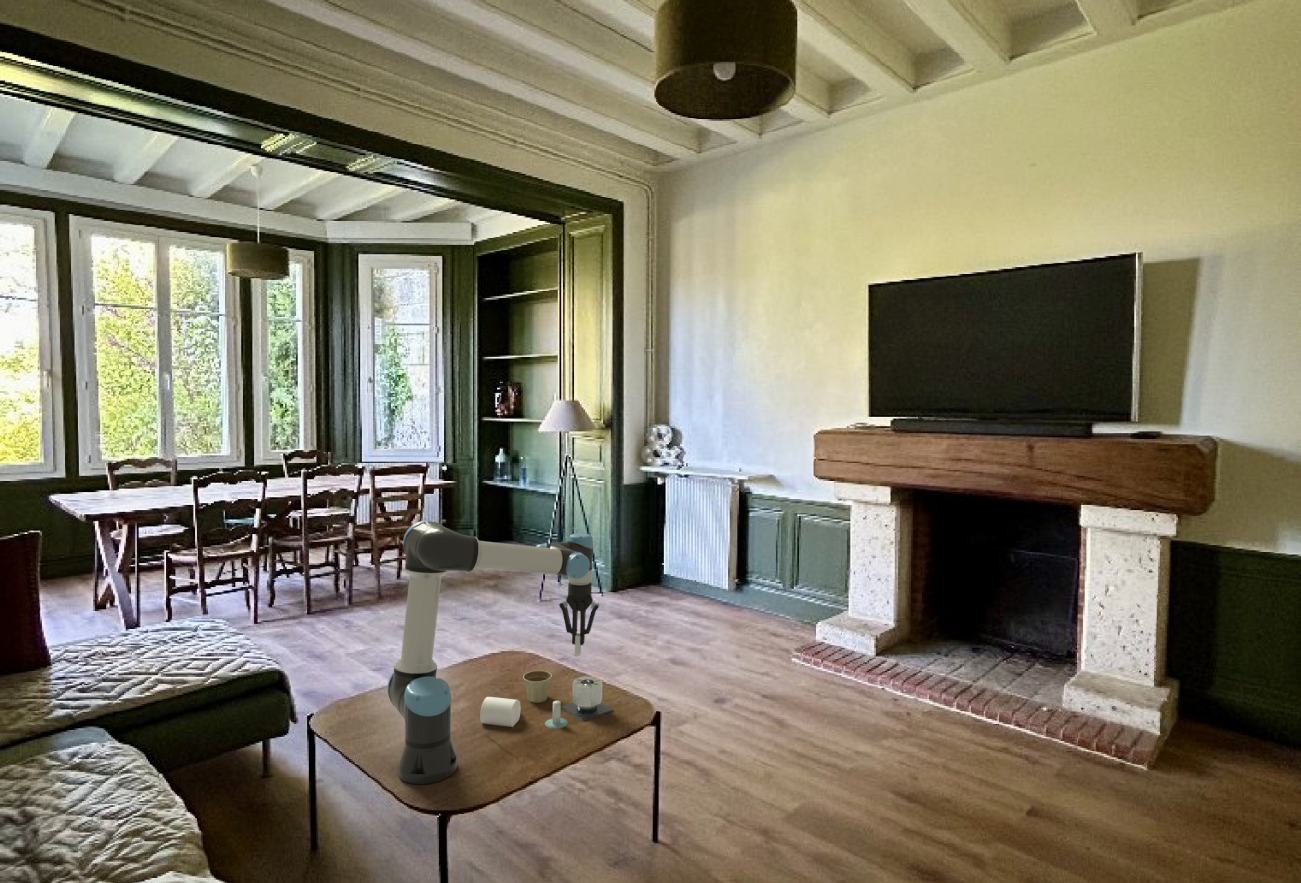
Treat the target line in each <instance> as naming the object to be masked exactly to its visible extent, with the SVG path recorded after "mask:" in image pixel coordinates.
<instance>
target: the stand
mask: <svg viewBox="0 0 1301 883" xmlns="http://www.w3.org/2000/svg"><path fill="white" fill-rule="evenodd" d="M561 704H562V702H561V701H560V700H554V701H552V718H549V719H547V720H546V721H545V722H544V725H545V727H547V728H550V729H555V730H556V729H562V728H564V727H567V726H568V725H569V722H568V720H567V719H565V718H563V717H562V716H561V715H562V714H561V710H562V709H561Z"/></svg>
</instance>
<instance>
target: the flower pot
mask: <svg viewBox="0 0 1301 883" xmlns="http://www.w3.org/2000/svg"><path fill="white" fill-rule="evenodd" d="M552 678H553V675H552V673H551V672H549V671H546V670H532V671H528V672H526V673H524V674H523V676H522V679H523V682H524V683H525V692H526V696H527V701H529V702H530V703H543V702H546V701H547V700H548V694H549V688H550V682H551V679H552Z"/></svg>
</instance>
